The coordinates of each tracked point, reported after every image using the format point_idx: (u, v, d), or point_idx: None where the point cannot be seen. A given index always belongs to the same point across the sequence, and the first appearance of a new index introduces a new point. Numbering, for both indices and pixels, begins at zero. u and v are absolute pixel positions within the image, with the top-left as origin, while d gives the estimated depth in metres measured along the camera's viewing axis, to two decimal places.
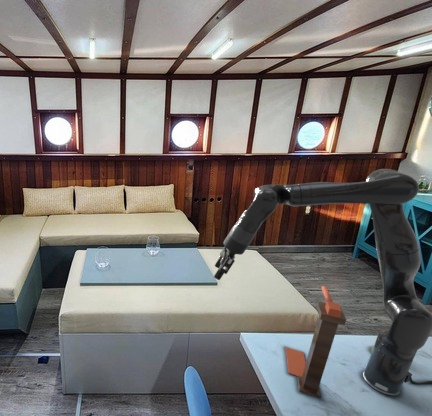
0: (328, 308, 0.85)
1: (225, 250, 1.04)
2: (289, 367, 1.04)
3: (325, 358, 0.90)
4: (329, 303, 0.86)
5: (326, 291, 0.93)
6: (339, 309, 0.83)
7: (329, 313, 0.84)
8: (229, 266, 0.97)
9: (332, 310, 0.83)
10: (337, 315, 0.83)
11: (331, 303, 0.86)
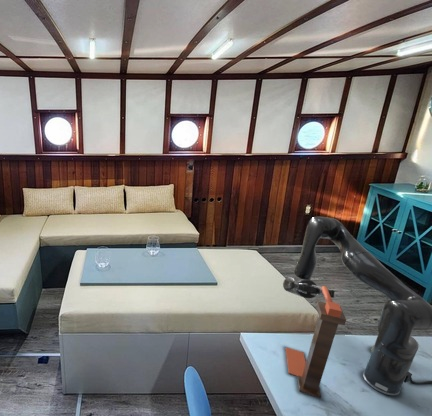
0: (328, 308, 0.85)
1: (310, 293, 1.13)
2: (289, 367, 1.04)
3: (325, 358, 0.90)
4: (329, 303, 0.86)
5: (326, 291, 0.93)
6: (339, 309, 0.83)
7: (329, 313, 0.84)
8: (289, 283, 1.15)
9: (332, 310, 0.83)
10: (337, 315, 0.83)
11: (331, 303, 0.86)
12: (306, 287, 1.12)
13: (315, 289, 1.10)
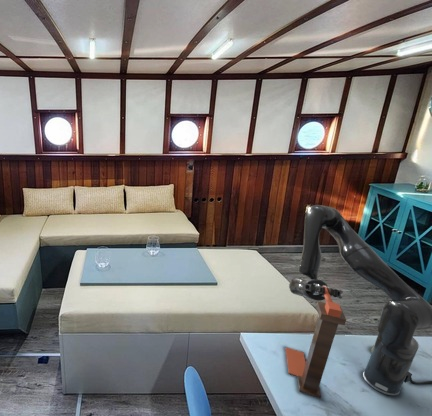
0: (328, 308, 0.85)
1: None
2: (289, 367, 1.04)
3: (325, 358, 0.90)
4: (329, 303, 0.86)
5: (326, 291, 0.93)
6: (339, 309, 0.83)
7: (329, 313, 0.84)
8: (303, 284, 1.01)
9: (332, 310, 0.84)
10: (337, 315, 0.83)
11: (331, 303, 0.86)
12: None
13: None
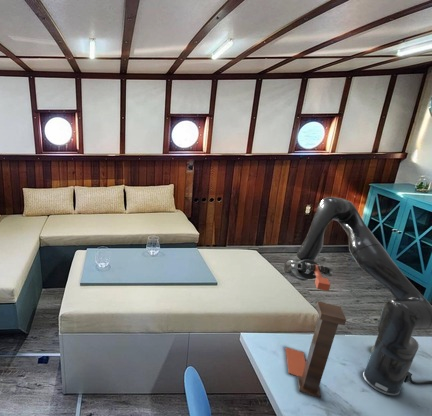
0: (318, 282, 0.90)
1: None
2: (289, 367, 1.04)
3: (325, 358, 0.90)
4: (319, 278, 0.92)
5: (316, 268, 0.99)
6: (328, 283, 0.89)
7: (318, 287, 0.90)
8: (296, 263, 1.06)
9: (321, 284, 0.89)
10: (326, 288, 0.89)
11: (321, 278, 0.92)
12: None
13: None
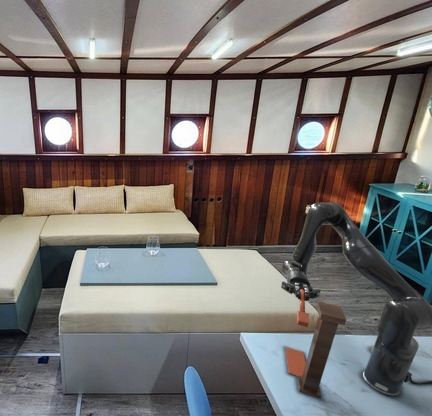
0: (298, 319, 0.98)
1: None
2: (289, 367, 1.04)
3: (325, 358, 0.90)
4: (300, 314, 0.99)
5: (302, 296, 1.05)
6: (307, 321, 0.97)
7: (298, 323, 0.98)
8: (285, 285, 1.12)
9: (301, 322, 0.97)
10: (305, 325, 0.97)
11: (302, 314, 0.99)
12: None
13: (305, 290, 1.09)
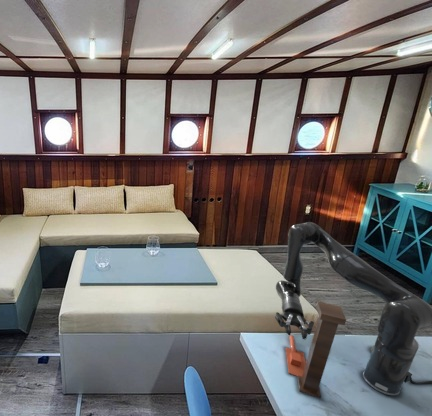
0: (291, 358, 1.05)
1: None
2: (289, 367, 1.04)
3: (325, 358, 0.90)
4: (292, 353, 1.07)
5: (292, 340, 1.14)
6: (299, 360, 1.04)
7: (291, 362, 1.05)
8: (277, 317, 1.18)
9: (294, 360, 1.04)
10: (298, 364, 1.04)
11: (294, 354, 1.06)
12: None
13: (299, 324, 1.14)
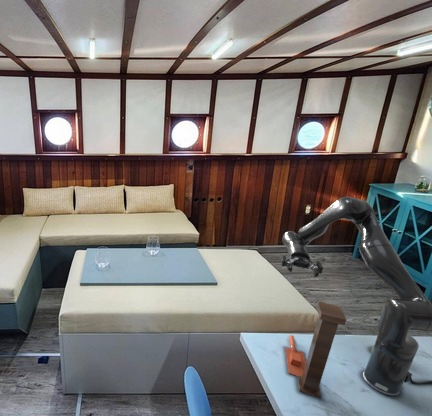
0: (291, 358, 1.05)
1: None
2: (289, 367, 1.04)
3: (325, 358, 0.90)
4: (292, 353, 1.07)
5: (292, 340, 1.14)
6: (299, 360, 1.04)
7: (291, 362, 1.05)
8: (282, 258, 1.23)
9: (294, 360, 1.04)
10: (298, 364, 1.04)
11: (294, 354, 1.06)
12: (297, 263, 1.19)
13: (305, 265, 1.18)
